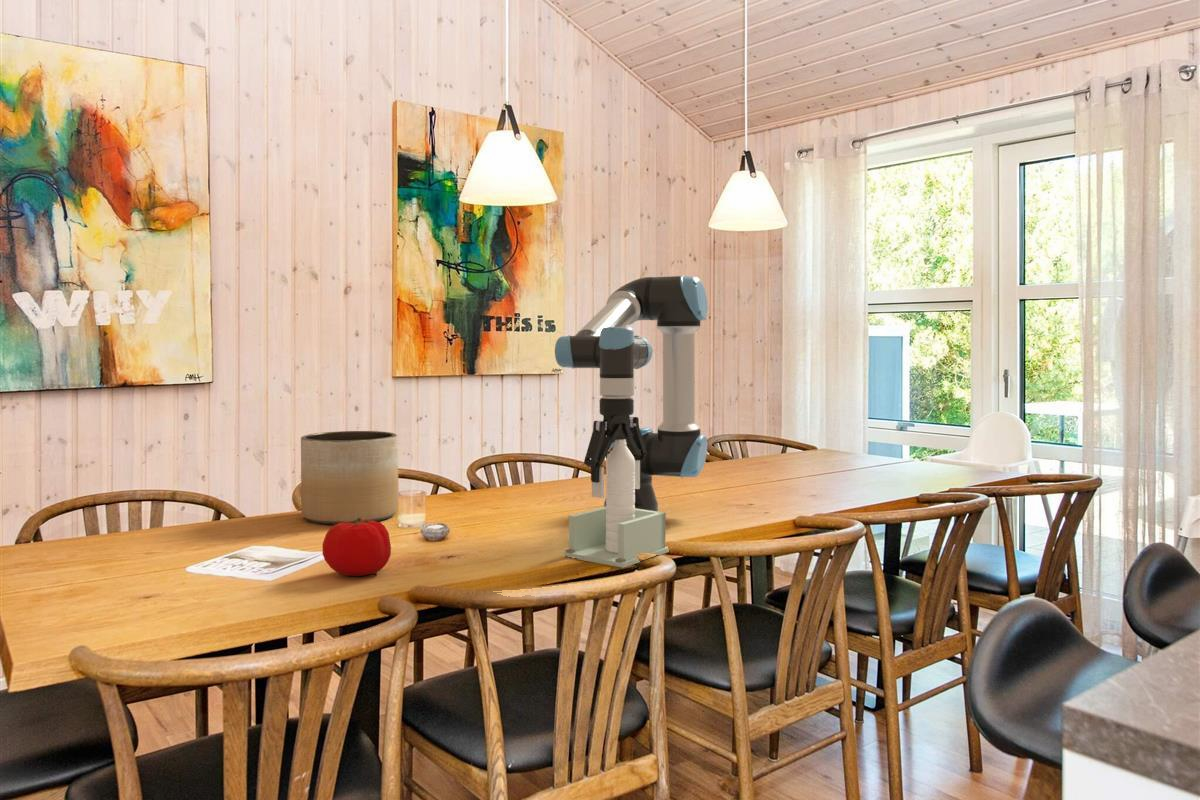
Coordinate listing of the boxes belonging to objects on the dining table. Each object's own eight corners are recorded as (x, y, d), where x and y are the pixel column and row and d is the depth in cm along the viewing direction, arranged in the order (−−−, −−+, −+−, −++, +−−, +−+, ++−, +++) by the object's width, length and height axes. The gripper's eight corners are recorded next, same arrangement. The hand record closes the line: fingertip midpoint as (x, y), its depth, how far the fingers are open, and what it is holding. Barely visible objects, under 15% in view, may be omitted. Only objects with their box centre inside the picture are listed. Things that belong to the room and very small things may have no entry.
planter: (413, 519, 234) (412, 436, 233) (317, 530, 220) (315, 443, 218) (379, 504, 255) (378, 428, 254) (290, 514, 241) (288, 434, 239)
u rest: (612, 541, 208) (612, 504, 207) (669, 551, 198) (669, 512, 198) (564, 556, 194) (564, 516, 193) (623, 567, 184) (623, 525, 183)
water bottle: (639, 552, 193) (640, 439, 192) (612, 555, 191) (613, 440, 189) (622, 543, 201) (623, 435, 200) (596, 546, 199) (597, 436, 197)
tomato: (392, 579, 175) (392, 522, 174) (322, 585, 171) (321, 526, 170) (389, 564, 187) (388, 511, 186) (323, 569, 183) (322, 514, 182)
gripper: (635, 393, 205) (634, 483, 207) (567, 399, 186) (567, 498, 187) (662, 394, 201) (661, 486, 202) (595, 401, 181) (595, 502, 183)
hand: (616, 492), depth 195 cm, fingers open, 13 cm apart
